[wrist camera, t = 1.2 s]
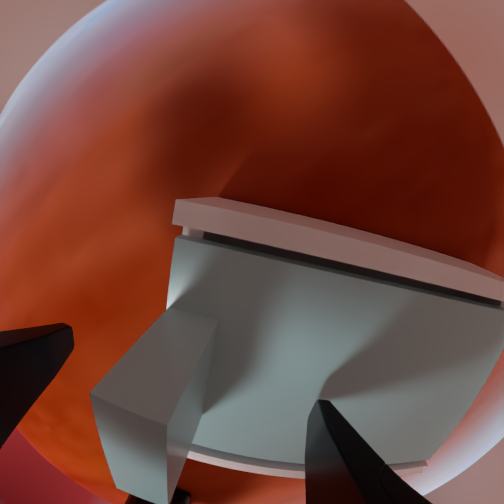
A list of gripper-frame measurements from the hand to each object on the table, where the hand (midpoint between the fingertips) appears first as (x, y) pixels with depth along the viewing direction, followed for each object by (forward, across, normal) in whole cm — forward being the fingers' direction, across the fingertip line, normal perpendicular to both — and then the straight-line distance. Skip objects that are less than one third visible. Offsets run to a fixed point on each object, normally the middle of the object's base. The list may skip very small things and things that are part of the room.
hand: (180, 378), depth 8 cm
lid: (+1, -6, 0) cm, 6 cm away
